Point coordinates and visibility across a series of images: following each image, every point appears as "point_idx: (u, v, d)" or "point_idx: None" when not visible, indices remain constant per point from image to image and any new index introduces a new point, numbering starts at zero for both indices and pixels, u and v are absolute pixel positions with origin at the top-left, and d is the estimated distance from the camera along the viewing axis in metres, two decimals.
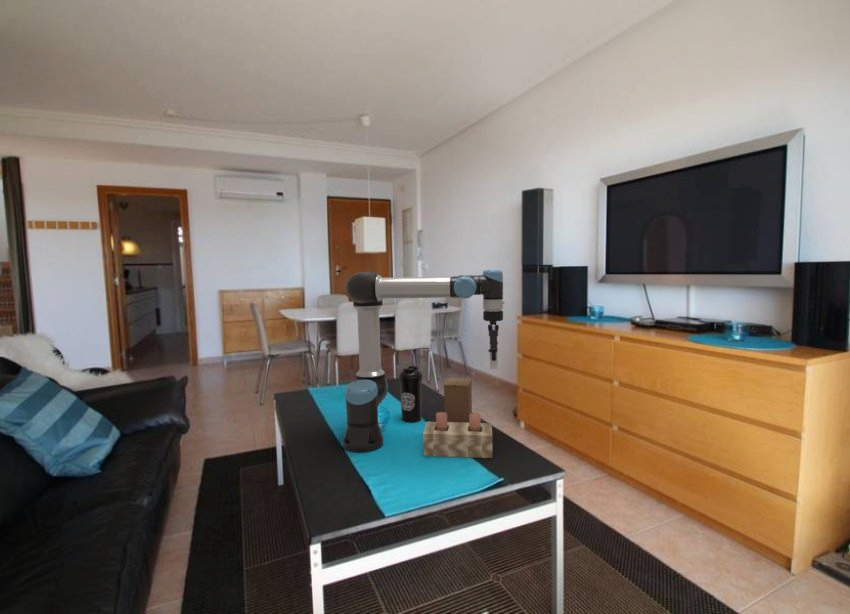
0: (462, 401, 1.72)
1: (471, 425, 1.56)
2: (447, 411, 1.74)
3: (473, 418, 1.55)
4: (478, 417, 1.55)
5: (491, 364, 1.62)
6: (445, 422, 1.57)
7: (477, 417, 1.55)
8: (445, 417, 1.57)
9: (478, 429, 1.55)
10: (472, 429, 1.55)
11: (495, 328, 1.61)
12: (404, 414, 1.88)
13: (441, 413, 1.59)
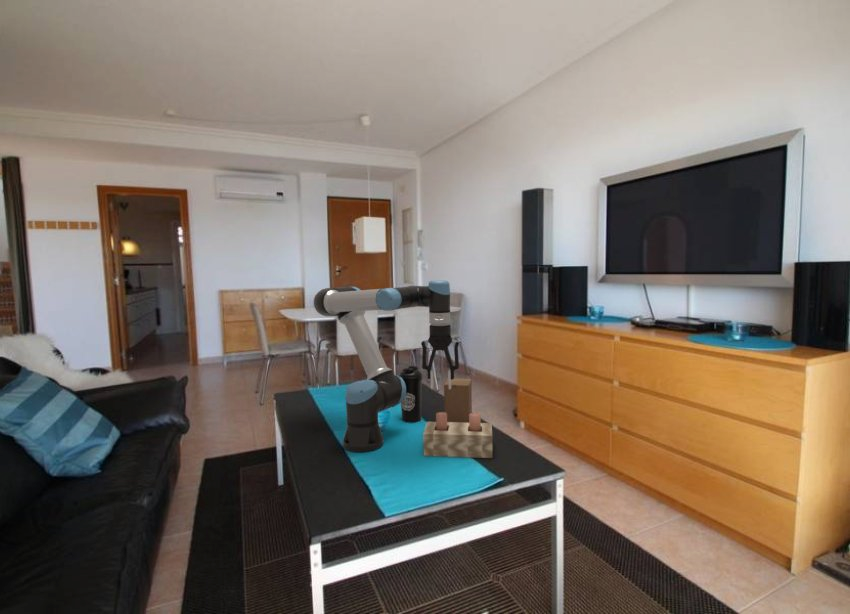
0: (462, 401, 1.72)
1: (471, 425, 1.56)
2: (447, 411, 1.74)
3: (473, 418, 1.55)
4: (478, 417, 1.55)
5: None
6: (445, 422, 1.57)
7: (477, 417, 1.55)
8: (445, 417, 1.57)
9: (478, 429, 1.55)
10: (472, 429, 1.55)
11: None
12: (404, 414, 1.88)
13: (441, 413, 1.59)
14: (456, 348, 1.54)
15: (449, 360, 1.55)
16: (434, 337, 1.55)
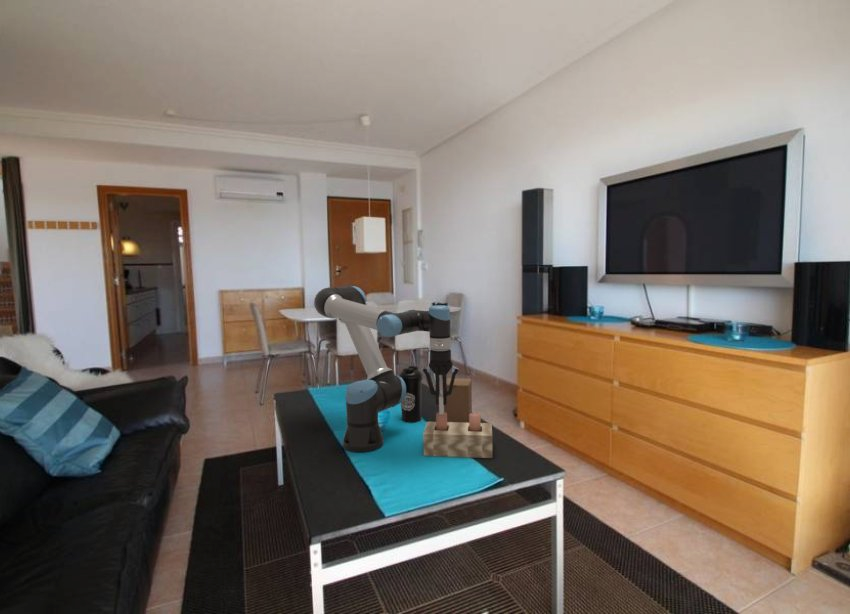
0: (462, 401, 1.72)
1: (471, 425, 1.56)
2: (447, 411, 1.74)
3: (473, 418, 1.55)
4: (478, 417, 1.55)
5: None
6: (445, 422, 1.57)
7: (477, 417, 1.55)
8: (445, 417, 1.57)
9: (478, 429, 1.55)
10: (472, 429, 1.55)
11: None
12: (404, 414, 1.88)
13: None
14: (454, 375, 1.55)
15: (444, 385, 1.56)
16: (433, 361, 1.56)
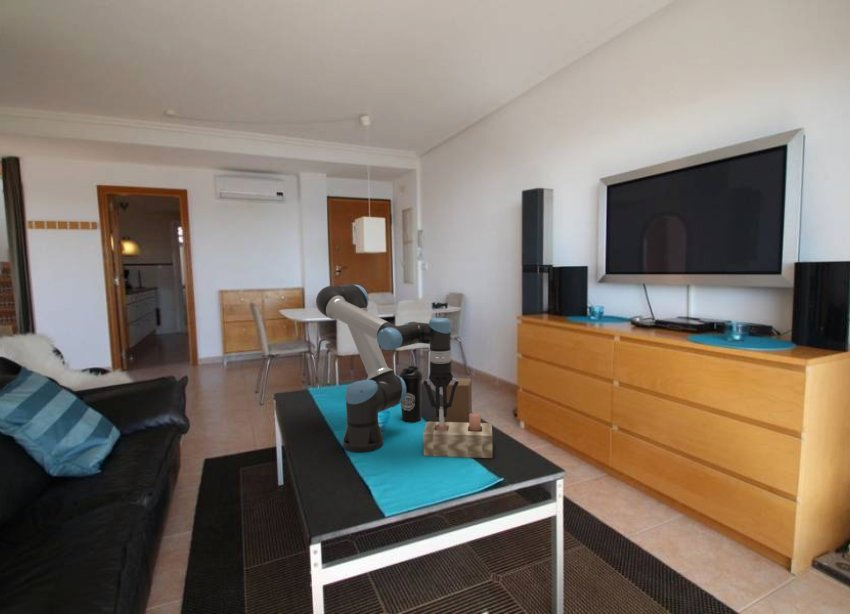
0: (462, 401, 1.72)
1: (471, 425, 1.56)
2: (447, 411, 1.74)
3: (473, 418, 1.55)
4: (478, 417, 1.55)
5: None
6: None
7: (477, 417, 1.55)
8: (445, 429, 1.57)
9: (478, 429, 1.55)
10: (472, 429, 1.55)
11: None
12: (404, 414, 1.88)
13: None
14: (454, 387, 1.55)
15: (444, 398, 1.56)
16: (434, 374, 1.56)
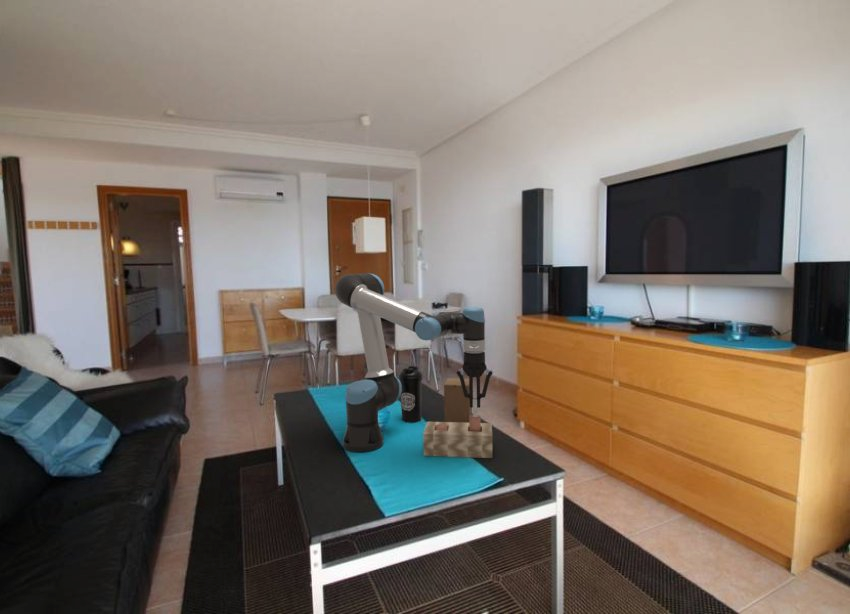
0: (462, 401, 1.72)
1: (471, 427, 1.56)
2: (447, 411, 1.74)
3: (473, 420, 1.55)
4: (478, 419, 1.55)
5: None
6: None
7: (477, 419, 1.55)
8: (445, 429, 1.57)
9: (478, 431, 1.56)
10: None
11: None
12: (404, 414, 1.88)
13: (441, 425, 1.59)
14: (488, 377, 1.54)
15: (478, 388, 1.54)
16: (467, 363, 1.54)
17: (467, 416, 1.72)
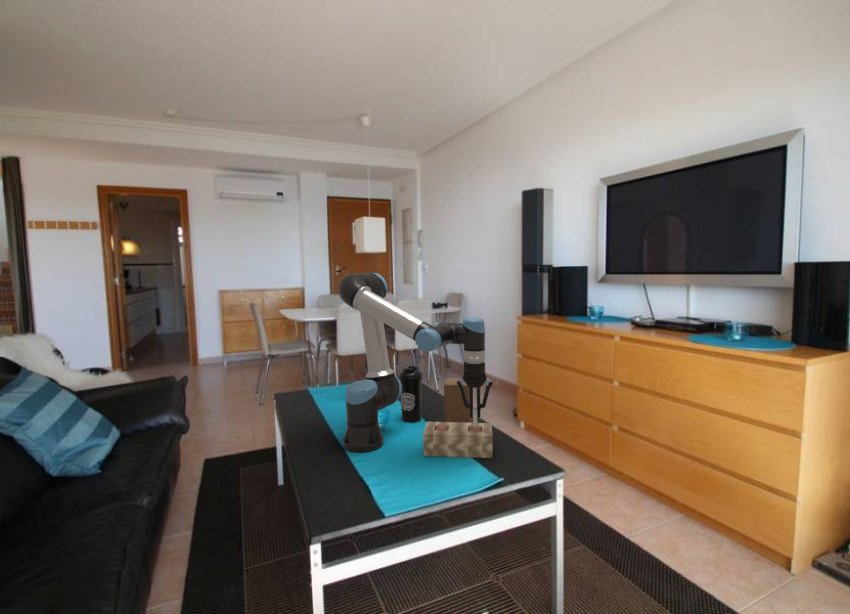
0: (462, 401, 1.72)
1: None
2: (447, 411, 1.74)
3: (473, 430, 1.55)
4: (478, 429, 1.55)
5: None
6: None
7: (477, 429, 1.55)
8: (445, 429, 1.57)
9: None
10: None
11: None
12: (404, 414, 1.88)
13: (441, 425, 1.59)
14: (488, 388, 1.54)
15: (478, 398, 1.55)
16: (467, 374, 1.54)
17: (467, 416, 1.72)
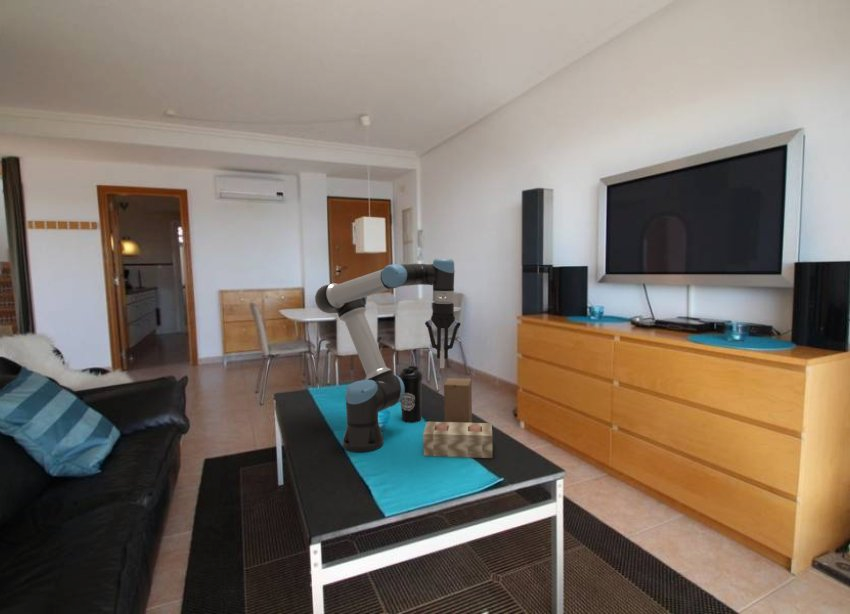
0: (462, 401, 1.72)
1: None
2: (447, 411, 1.74)
3: None
4: (478, 429, 1.55)
5: None
6: None
7: (477, 429, 1.55)
8: (445, 429, 1.57)
9: None
10: None
11: None
12: (404, 414, 1.88)
13: (441, 425, 1.59)
14: (456, 328, 1.55)
15: (446, 339, 1.56)
16: (436, 314, 1.55)
17: (467, 416, 1.72)
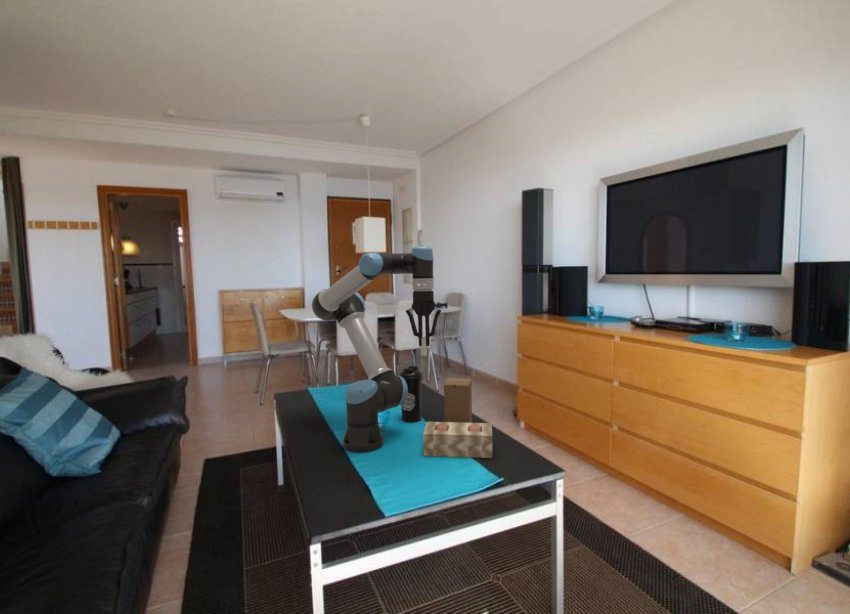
0: (462, 401, 1.72)
1: None
2: (447, 411, 1.74)
3: None
4: (478, 429, 1.55)
5: None
6: None
7: (477, 429, 1.55)
8: (445, 429, 1.57)
9: None
10: None
11: None
12: (404, 414, 1.88)
13: (441, 425, 1.59)
14: (437, 315, 1.56)
15: (427, 326, 1.57)
16: (416, 302, 1.56)
17: (467, 416, 1.72)
